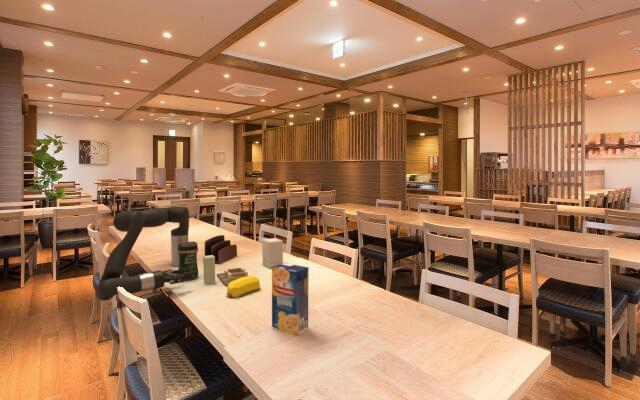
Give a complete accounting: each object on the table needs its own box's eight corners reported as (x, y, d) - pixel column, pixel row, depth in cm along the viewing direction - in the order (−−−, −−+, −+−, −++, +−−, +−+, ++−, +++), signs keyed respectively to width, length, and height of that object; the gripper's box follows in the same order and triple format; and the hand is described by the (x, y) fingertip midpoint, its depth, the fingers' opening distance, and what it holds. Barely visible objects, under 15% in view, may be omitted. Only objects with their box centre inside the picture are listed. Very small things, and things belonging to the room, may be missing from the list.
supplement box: (283, 266, 202) (283, 240, 200) (269, 268, 197) (269, 242, 195) (276, 262, 209) (276, 237, 208) (262, 265, 204) (261, 239, 203)
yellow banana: (222, 296, 156) (233, 300, 151) (221, 281, 155) (233, 285, 150) (253, 285, 170) (264, 289, 165) (253, 272, 169) (264, 275, 165)
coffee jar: (180, 282, 173) (178, 244, 171) (176, 277, 180) (175, 241, 178) (200, 278, 178) (199, 242, 177) (196, 274, 185) (195, 239, 183)
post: (203, 282, 174) (203, 256, 172) (213, 280, 176) (212, 255, 174) (205, 284, 170) (205, 258, 168) (215, 283, 172) (214, 257, 171)
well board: (216, 276, 183) (216, 268, 183) (241, 272, 189) (241, 264, 189) (225, 286, 167) (225, 278, 167) (252, 282, 174) (252, 274, 173)
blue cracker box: (284, 320, 132) (284, 262, 130) (308, 328, 126) (308, 267, 124) (271, 327, 126) (271, 266, 124) (296, 336, 120) (296, 272, 118)
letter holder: (204, 263, 207) (203, 239, 206) (223, 255, 226) (223, 233, 224) (219, 265, 204) (218, 240, 203) (237, 256, 223) (237, 234, 221)
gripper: (156, 276, 148) (193, 268, 159) (144, 268, 158) (180, 262, 169) (156, 293, 149) (194, 285, 160) (145, 285, 159) (181, 277, 170)
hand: (187, 273), depth 165 cm, fingers open, 8 cm apart
